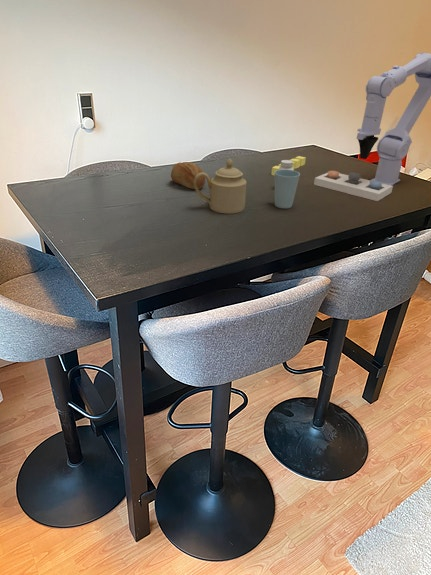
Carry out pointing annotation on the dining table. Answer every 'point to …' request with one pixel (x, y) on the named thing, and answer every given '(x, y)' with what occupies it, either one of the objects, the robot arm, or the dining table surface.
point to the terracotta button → (333, 175)
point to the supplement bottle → (286, 165)
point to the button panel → (353, 187)
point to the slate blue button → (375, 184)
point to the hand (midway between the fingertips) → (363, 158)
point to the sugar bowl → (225, 190)
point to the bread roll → (187, 174)
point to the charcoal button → (354, 177)
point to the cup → (285, 187)
